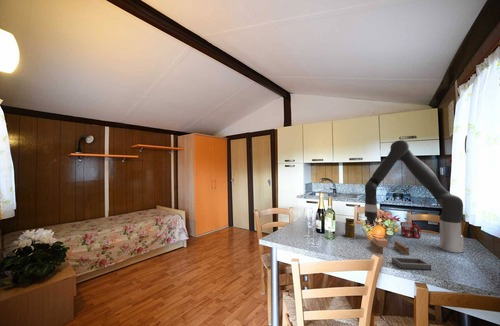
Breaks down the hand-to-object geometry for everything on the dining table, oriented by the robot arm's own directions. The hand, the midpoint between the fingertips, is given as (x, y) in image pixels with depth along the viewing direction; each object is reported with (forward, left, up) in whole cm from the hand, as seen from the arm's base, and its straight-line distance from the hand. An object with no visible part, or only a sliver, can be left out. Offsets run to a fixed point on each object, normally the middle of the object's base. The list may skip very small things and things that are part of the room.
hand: (370, 235), depth 142 cm
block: (0, +12, -2) cm, 12 cm away
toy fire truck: (-30, -6, -2) cm, 31 cm away
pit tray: (0, +39, -2) cm, 39 cm away
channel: (0, +21, -2) cm, 21 cm away
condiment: (+14, -2, -2) cm, 14 cm away
